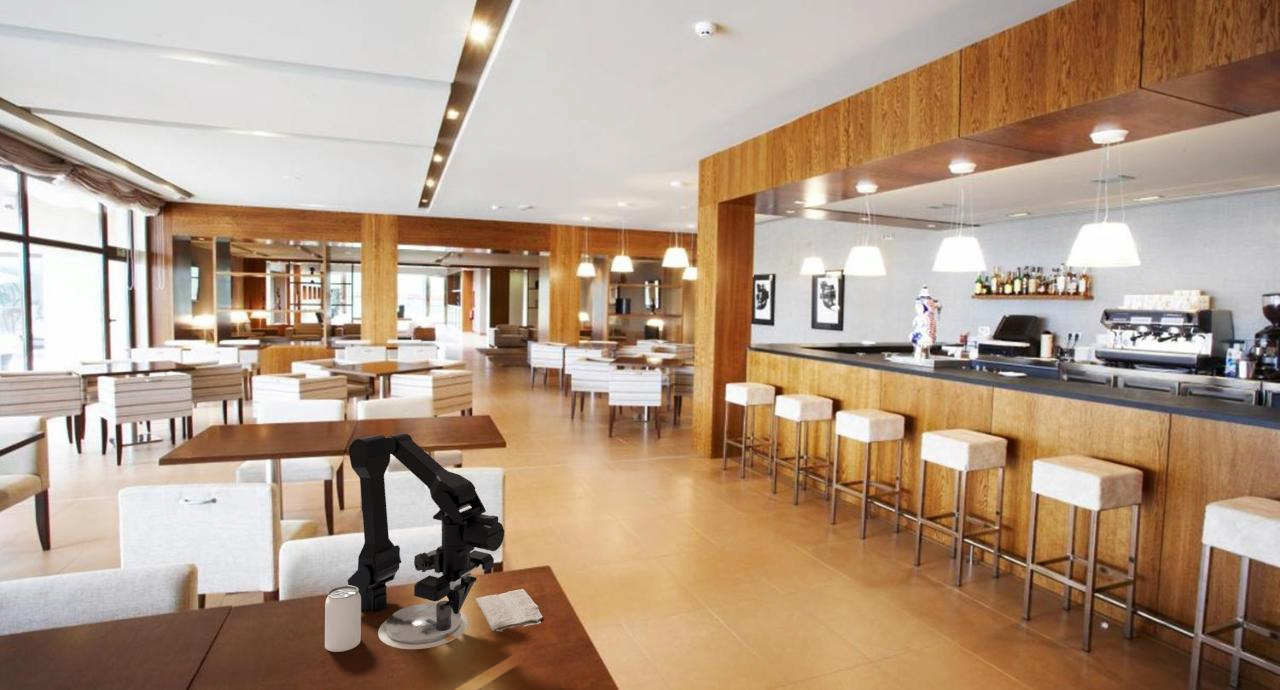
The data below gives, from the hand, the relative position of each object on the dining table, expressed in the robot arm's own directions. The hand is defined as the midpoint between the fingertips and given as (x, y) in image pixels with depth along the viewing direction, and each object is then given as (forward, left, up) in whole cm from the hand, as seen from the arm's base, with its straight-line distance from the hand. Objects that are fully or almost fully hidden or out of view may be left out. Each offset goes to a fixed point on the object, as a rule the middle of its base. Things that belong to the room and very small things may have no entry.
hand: (455, 613), depth 137 cm
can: (-13, -18, -5) cm, 22 cm away
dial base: (-6, -4, -5) cm, 8 cm away
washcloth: (+3, +13, -6) cm, 14 cm away
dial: (-6, -4, -3) cm, 7 cm away
